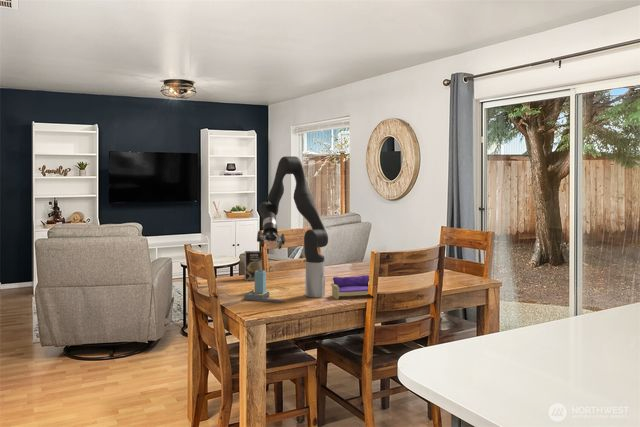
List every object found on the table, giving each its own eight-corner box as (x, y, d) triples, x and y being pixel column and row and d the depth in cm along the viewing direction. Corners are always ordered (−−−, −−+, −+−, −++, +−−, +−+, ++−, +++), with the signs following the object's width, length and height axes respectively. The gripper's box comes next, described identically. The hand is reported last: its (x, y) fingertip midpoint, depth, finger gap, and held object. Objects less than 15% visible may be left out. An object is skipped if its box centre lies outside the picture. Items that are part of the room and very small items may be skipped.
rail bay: (288, 298, 265) (288, 293, 265) (281, 303, 255) (281, 297, 255) (252, 295, 270) (252, 290, 270) (243, 300, 260) (243, 294, 260)
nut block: (266, 291, 278) (266, 270, 278) (263, 293, 274) (263, 271, 273) (257, 291, 280) (258, 269, 279) (254, 293, 275) (254, 271, 274)
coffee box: (245, 280, 306) (245, 252, 304) (244, 278, 312) (244, 250, 310) (261, 280, 308) (262, 252, 307) (260, 278, 314) (260, 250, 313)
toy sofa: (335, 300, 264) (336, 279, 263) (330, 296, 272) (330, 275, 271) (376, 297, 270) (376, 277, 269) (369, 294, 278) (369, 274, 277)
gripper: (258, 220, 284) (258, 239, 271) (284, 223, 287) (286, 242, 274) (255, 231, 288) (256, 251, 275) (281, 234, 291) (283, 254, 278)
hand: (271, 247), depth 275 cm, fingers open, 8 cm apart
